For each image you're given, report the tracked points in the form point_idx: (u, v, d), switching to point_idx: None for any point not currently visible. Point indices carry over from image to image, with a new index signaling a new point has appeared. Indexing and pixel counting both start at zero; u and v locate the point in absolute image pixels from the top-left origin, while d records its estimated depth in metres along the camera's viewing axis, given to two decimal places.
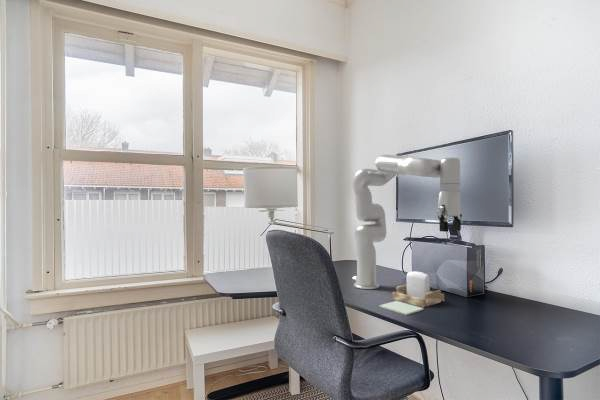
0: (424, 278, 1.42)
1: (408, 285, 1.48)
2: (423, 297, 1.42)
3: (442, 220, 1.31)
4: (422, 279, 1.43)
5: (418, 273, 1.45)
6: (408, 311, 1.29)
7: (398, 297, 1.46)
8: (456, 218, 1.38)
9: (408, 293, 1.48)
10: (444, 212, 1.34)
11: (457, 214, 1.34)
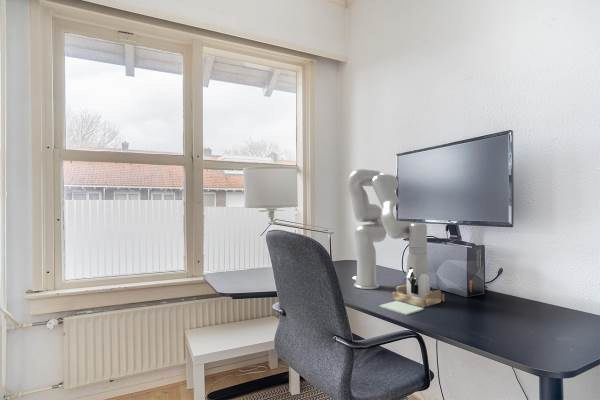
0: (424, 278, 1.42)
1: (408, 285, 1.48)
2: (423, 297, 1.42)
3: (413, 284, 1.44)
4: (422, 279, 1.43)
5: None
6: (408, 311, 1.29)
7: (398, 297, 1.46)
8: None
9: (408, 293, 1.48)
10: (413, 274, 1.46)
11: None
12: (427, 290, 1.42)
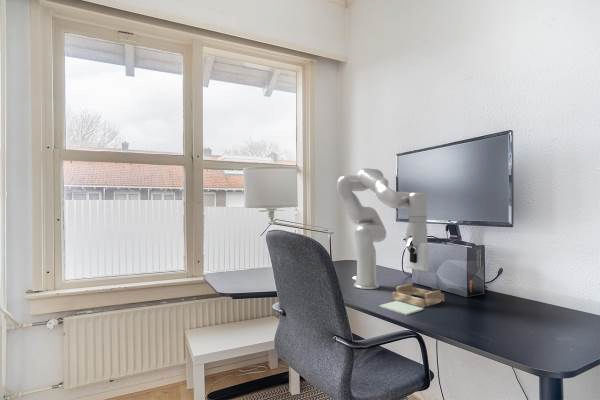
0: (423, 246, 1.43)
1: (407, 254, 1.49)
2: (422, 265, 1.43)
3: (412, 253, 1.45)
4: (421, 247, 1.43)
5: None
6: (408, 311, 1.29)
7: (398, 297, 1.46)
8: None
9: (407, 262, 1.49)
10: (412, 243, 1.46)
11: None
12: (426, 259, 1.43)
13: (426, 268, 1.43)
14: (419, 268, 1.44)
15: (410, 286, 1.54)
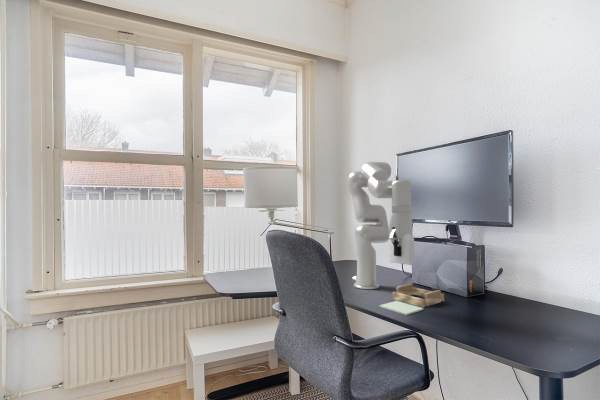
0: (408, 238, 1.31)
1: (391, 248, 1.37)
2: (407, 259, 1.31)
3: (396, 246, 1.33)
4: (406, 239, 1.32)
5: None
6: (408, 311, 1.29)
7: (398, 297, 1.46)
8: None
9: (391, 256, 1.37)
10: None
11: None
12: (411, 251, 1.31)
13: (411, 262, 1.31)
14: (404, 262, 1.32)
15: (410, 286, 1.54)
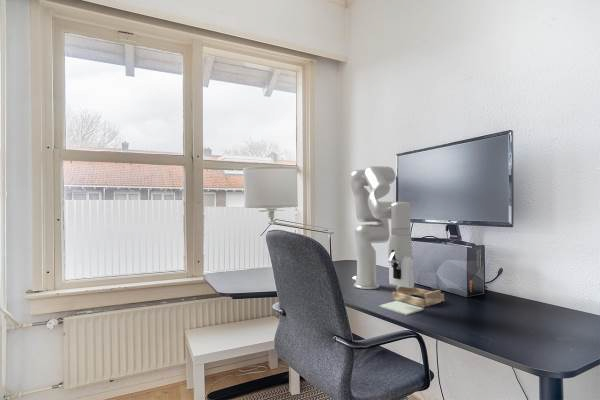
0: (407, 261, 1.31)
1: (391, 270, 1.36)
2: (406, 282, 1.30)
3: (395, 268, 1.32)
4: (405, 262, 1.31)
5: None
6: (408, 311, 1.29)
7: (398, 297, 1.46)
8: None
9: (391, 278, 1.36)
10: (395, 257, 1.34)
11: None
12: (410, 274, 1.30)
13: (411, 285, 1.30)
14: (404, 285, 1.31)
15: None
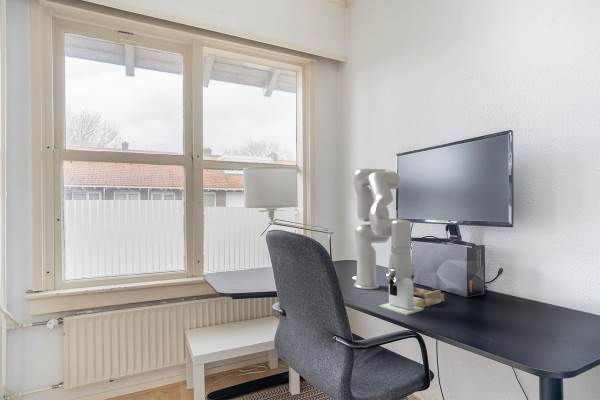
0: (407, 283, 1.31)
1: None
2: (406, 304, 1.31)
3: (391, 284, 1.31)
4: (405, 284, 1.31)
5: None
6: (408, 311, 1.29)
7: None
8: None
9: (390, 299, 1.36)
10: (394, 275, 1.33)
11: (408, 276, 1.34)
12: (410, 296, 1.31)
13: (410, 306, 1.30)
14: (403, 307, 1.32)
15: None
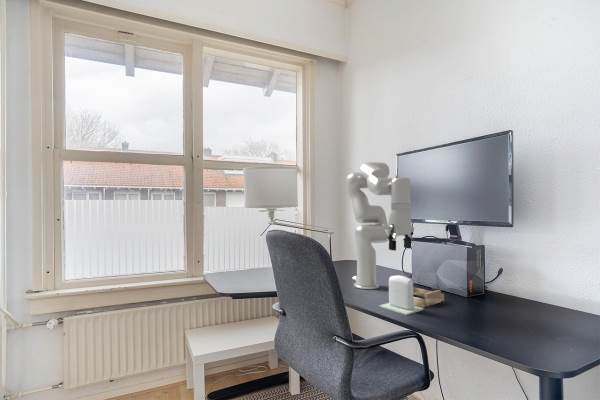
0: (406, 283, 1.31)
1: (390, 290, 1.36)
2: (406, 304, 1.31)
3: (390, 239, 1.34)
4: (404, 284, 1.31)
5: (401, 277, 1.34)
6: (408, 311, 1.29)
7: None
8: (407, 236, 1.41)
9: (390, 299, 1.36)
10: (394, 231, 1.36)
11: (407, 233, 1.37)
12: (410, 296, 1.31)
13: (410, 306, 1.30)
14: (403, 307, 1.32)
15: None
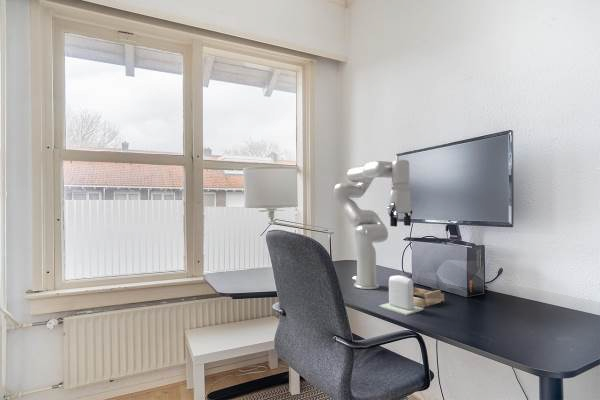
0: (407, 283, 1.31)
1: (390, 290, 1.36)
2: (406, 304, 1.31)
3: (392, 216, 1.46)
4: (405, 284, 1.31)
5: (401, 277, 1.34)
6: (408, 311, 1.29)
7: None
8: (407, 214, 1.53)
9: (390, 299, 1.36)
10: (394, 209, 1.48)
11: (406, 211, 1.49)
12: (410, 296, 1.31)
13: (410, 306, 1.30)
14: (403, 307, 1.32)
15: None
